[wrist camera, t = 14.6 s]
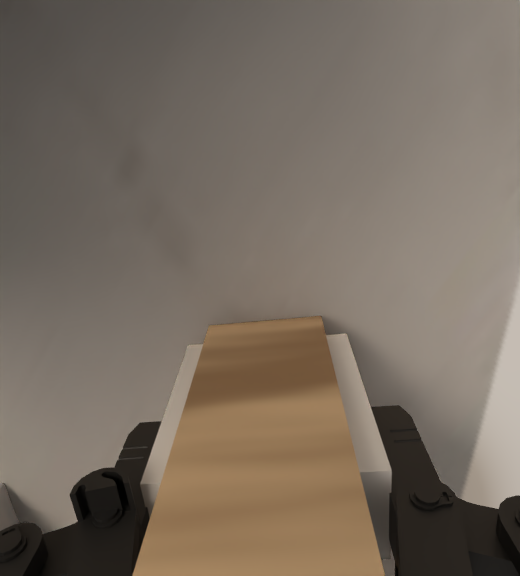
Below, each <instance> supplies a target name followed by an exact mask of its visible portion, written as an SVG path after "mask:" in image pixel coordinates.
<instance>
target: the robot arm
mask: <svg viewBox="0 0 520 576" xmlns="http://www.w3.org/2000/svg"><path fill="white" fill-rule="evenodd" d="M326 338H327V342H328V346H329V350H330V354H331V358H332V362H333V366H334V370H335V374H336V378H337V382H338V386H339V390H340V394H341V399H342V403H343V407H344V411H345V415H346V419H347V423H348V427H349V431H350V435H351V439H352V443H353V447H354V451H355V455H356V460H357V464H358V468H359V472H360V476H361V480H362V484H363V488H364V492H365V496H366V500H367V504H368V508H369V512H370V516H371V520H372V525H373V529H374V533H375V537H376V541H377V545H378V549H379V553H380V557H381V559H390V550H391V548H392V552H393V556H394V559H395V576H520V496H514V497H510V498H506V499H505V500H504V501H503V502H502V503H501V504H500V507H499V509H495V508H490V507H485V506H480V505H476V504H472V503H469V502H466V501H464V500H462V499H460V498H457V497H456V495H455V493H454V492H453V491H452V490H451V489H450V488H449V487H448V486H447V485H445V484H443V483H441V481H440V480H439V477H438V475H437V473H436V471H435V468H434V466H433V464H432V462H431V460H430V457H429V455H428V453H427V451H426V448H425V446H424V444H423V442H422V441H421V437H420V435H419V433H418V431H417V428H416V426H415V424H414V422H413V419H412V417H411V416H410V415H409V414H408V413H407V412H406V411H405V410H404V409H402V408H401V407H400V406H399V405H397V406H381V407H371V406H370V403H369V400H368V397H367V394H366V391H365V388H364V385H363V382H362V379H361V376H360V373H359V370H358V367H357V364H356V361H355V358H354V355H353V352H352V349H351V346H350V343H349V340H348V337H347V334H334V335H326ZM202 347H203V344H194V345H188V346H187V349H186V352H185V355H184V358H183V361H182V364H181V367H180V370H179V373H178V376H177V378H176V381H175V384H174V387H173V390H172V393H171V396H170V399H169V402H168V405H167V407H166V410H165V413H164V416H163V419H162V421H160V422H144V423H139V424H138V425H137V426H136V427H135V428H134V430H133V431H132V432H131V433H130V434H129V435H128V437H127V439H126V442H125V444H124V446H123V450H122V451H121V453H120V456H119V460H118V461H117V463H116V465H115V467H114V468H103V469H99V470H96V471H93V472H91V473H90V474H88V475H86V476H85V477H83V478H82V479H81V480H80V481H79V482H78V483H77V484H76V485H75V486H74V487H73V489H72V491H71V493H70V497H71V501H72V504H73V507H74V510H75V513H76V516H77V520H78V522H77V523H75V524H72V525H70V526H68V527H65V528H62V529H58V530H55V531H52V532H49V533H46V534H42V531H41V529H40V528H39V527H38V526H37V525H36V524H33V523H27V522H25V523H20V524H14V525H12V526H10V527H8V528H5V529H3V530H1V531H0V576H132V575H133V572H134V569H135V565H136V562H137V559H138V556H139V552H140V549H141V546H142V543H143V539H144V536H145V533H146V530H147V526H148V523H149V520H150V517H151V513H152V510H153V507H154V503H155V500H156V497H157V494H158V490H159V487H160V484H161V481H162V477H163V474H164V471H165V468H166V464H167V461H168V458H169V455H170V451H171V448H172V445H173V441H174V438H175V435H176V432H177V428H178V425H179V422H180V419H181V415H182V412H183V409H184V406H185V402H186V399H187V396H188V392H189V389H190V386H191V383H192V379H193V376H194V373H195V370H196V366H197V363H198V360H199V357H200V353H201V350H202Z"/></svg>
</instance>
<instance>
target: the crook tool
mask: <svg viewBox="0 0 520 576" xmlns="http://www.w3.org/2000/svg"><path fill="white" fill-rule="evenodd" d="M132 576H385V573H384V569H383V565H382V561H381V557H380V553H379V549H378V545H377V541H376V537H375V533H374V529H373V525H372V520H371V516H370V512H369V508H368V504H367V500H366V496H365V492H364V488H363V484H362V480H361V476H360V472H359V468H358V464H357V460H356V455H355V451H354V447H353V443H352V439H351V435H350V431H349V427H348V423H347V419H346V415H345V411H344V407H343V403H342V399H341V394H340V390H339V386H338V382H337V378H336V374H335V370H334V366H333V362H332V358H331V354H330V350H329V346H328V342H327V338H326V334H325V329H324V325H323V321H322V317H321V316H314V317H302V318H291V319H279V320H267V321H256V322H244V323H232V324H221V325H209V327H208V330H207V334H206V337H205V340H204V344H203V347H202V350H201V353H200V357H199V360H198V363H197V366H196V370H195V373H194V376H193V379H192V383H191V386H190V389H189V392H188V396H187V399H186V402H185V406H184V409H183V412H182V415H181V419H180V422H179V425H178V428H177V432H176V435H175V438H174V441H173V445H172V448H171V451H170V455H169V458H168V461H167V464H166V468H165V471H164V474H163V477H162V481H161V484H160V487H159V490H158V494H157V497H156V500H155V503H154V507H153V510H152V513H151V517H150V520H149V523H148V526H147V530H146V533H145V536H144V539H143V543H142V546H141V549H140V552H139V556H138V559H137V562H136V565H135V569H134V572H133V575H132Z"/></svg>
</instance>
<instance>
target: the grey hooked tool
mask: <svg viewBox="0 0 520 576" xmlns="http://www.w3.org/2000/svg"><path fill="white" fill-rule="evenodd" d="M14 524H19V521H18V519H17V516H16V513H15V511H14V508H13V505H12V503H11V500H10V498H9V495H8V492H7V490H6V487H5V484H4V483H0V531H1V530H3V529H5V528H8V527H10V526H12V525H14Z"/></svg>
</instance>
